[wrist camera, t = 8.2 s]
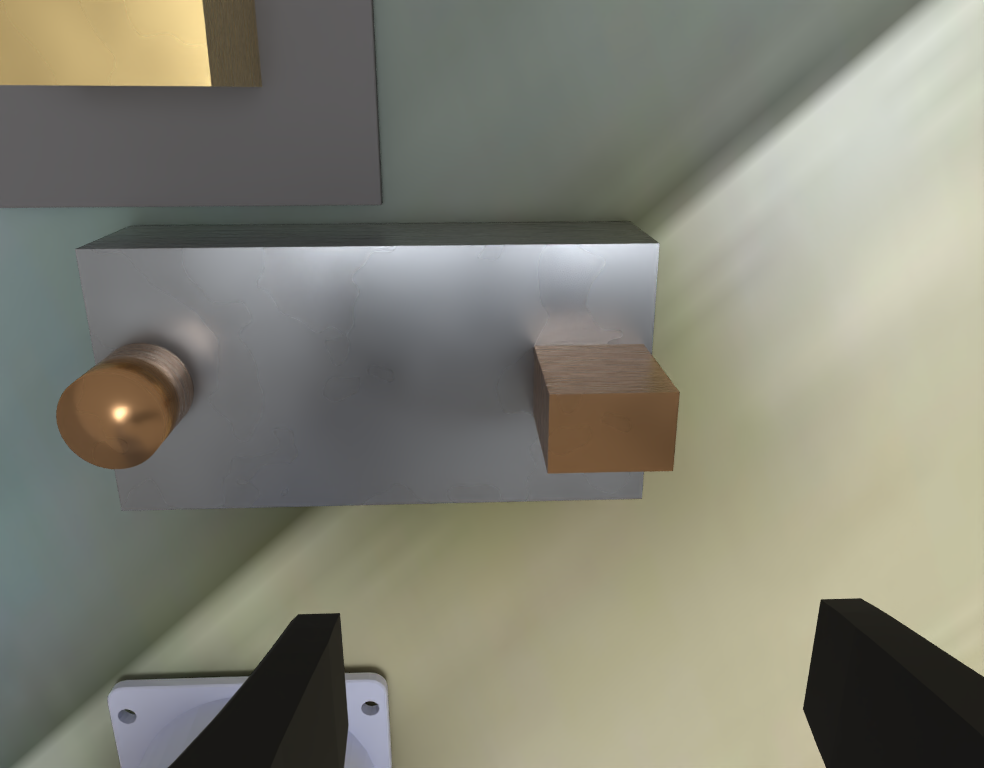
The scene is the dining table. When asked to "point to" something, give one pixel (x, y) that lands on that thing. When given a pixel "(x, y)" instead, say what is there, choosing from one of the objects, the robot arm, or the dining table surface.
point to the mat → (211, 127)
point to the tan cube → (129, 43)
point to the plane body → (371, 364)
